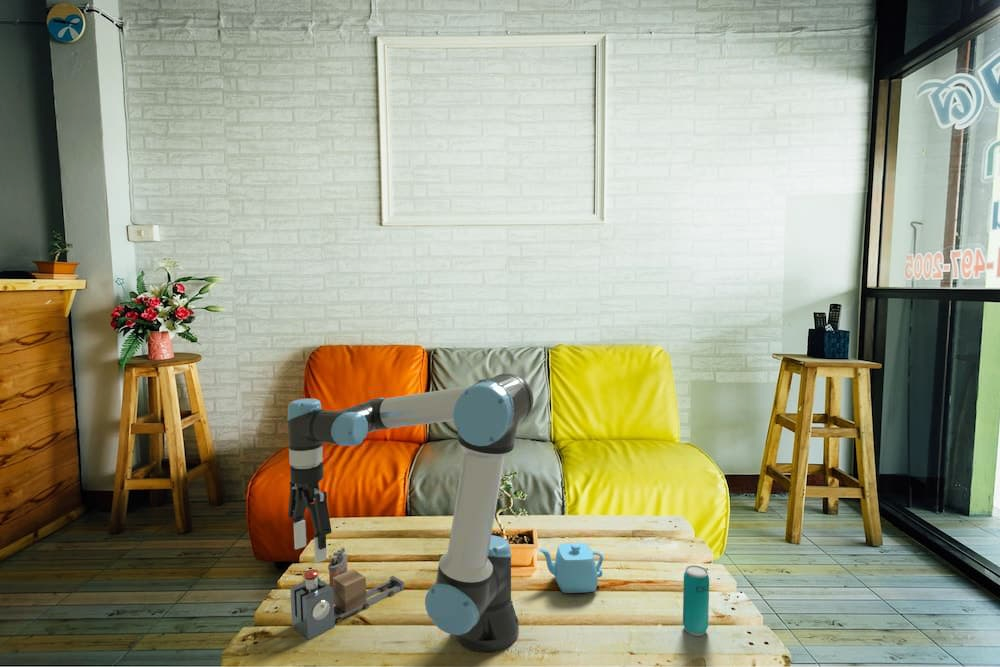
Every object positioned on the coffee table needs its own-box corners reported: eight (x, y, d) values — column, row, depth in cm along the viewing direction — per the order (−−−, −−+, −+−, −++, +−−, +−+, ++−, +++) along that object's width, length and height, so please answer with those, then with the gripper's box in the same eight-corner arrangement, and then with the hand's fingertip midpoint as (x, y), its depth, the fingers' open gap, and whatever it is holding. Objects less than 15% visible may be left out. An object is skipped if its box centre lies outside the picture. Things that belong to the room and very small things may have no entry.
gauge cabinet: (335, 627, 139) (334, 588, 138) (308, 640, 134) (307, 600, 133) (318, 614, 145) (316, 576, 144) (292, 626, 140) (290, 587, 139)
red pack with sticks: (337, 594, 154) (336, 559, 153) (326, 593, 154) (324, 558, 153) (351, 579, 162) (350, 545, 161) (340, 578, 162) (339, 544, 161)
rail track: (404, 589, 156) (404, 582, 156) (306, 638, 135) (305, 630, 135) (392, 581, 160) (391, 575, 160) (294, 627, 139) (293, 620, 139)
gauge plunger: (321, 599, 139) (320, 572, 138) (309, 604, 137) (308, 577, 136) (315, 594, 141) (313, 568, 141) (302, 599, 139) (301, 573, 138)
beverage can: (713, 635, 134) (714, 574, 133) (692, 639, 133) (693, 578, 131) (698, 621, 140) (699, 563, 139) (677, 625, 138) (678, 566, 137)
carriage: (366, 603, 147) (365, 577, 146) (346, 612, 143) (345, 586, 142) (353, 594, 151) (353, 569, 150) (333, 603, 147) (332, 577, 146)
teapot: (535, 575, 163) (535, 536, 162) (597, 572, 164) (597, 534, 163) (541, 598, 151) (541, 557, 150) (608, 596, 152) (608, 554, 151)
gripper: (345, 470, 131) (348, 563, 133) (299, 451, 146) (303, 535, 148) (314, 478, 126) (318, 575, 128) (270, 457, 141) (275, 544, 143)
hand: (310, 553), depth 138 cm, fingers open, 9 cm apart
